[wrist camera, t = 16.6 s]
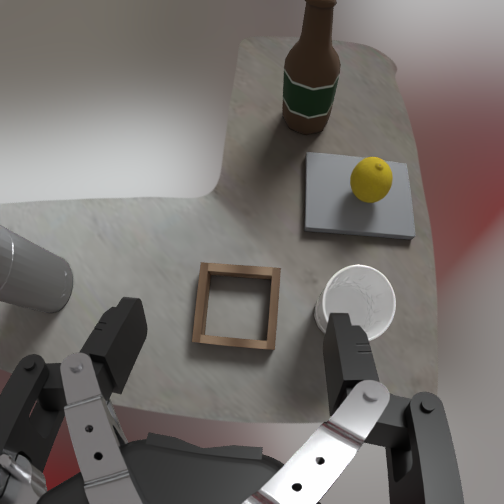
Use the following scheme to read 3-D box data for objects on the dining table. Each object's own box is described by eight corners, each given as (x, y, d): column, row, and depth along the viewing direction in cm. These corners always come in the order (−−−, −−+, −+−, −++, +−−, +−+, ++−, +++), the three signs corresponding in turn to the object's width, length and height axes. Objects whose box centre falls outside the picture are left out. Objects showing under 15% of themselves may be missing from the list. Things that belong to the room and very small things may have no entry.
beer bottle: (305, 144, 47) (325, 15, 24) (272, 116, 49) (271, -10, 26) (338, 121, 48) (368, 1, 25) (305, 95, 50) (317, -23, 27)
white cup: (347, 272, 41) (369, 250, 32) (378, 321, 39) (408, 313, 30) (298, 303, 41) (307, 290, 31) (329, 354, 38) (348, 357, 29)
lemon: (336, 189, 43) (349, 158, 36) (363, 170, 44) (378, 139, 36) (362, 219, 42) (380, 193, 34) (388, 198, 42) (409, 171, 35)
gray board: (304, 231, 43) (305, 227, 42) (305, 157, 47) (306, 151, 45) (411, 239, 42) (415, 236, 41) (403, 168, 45) (406, 163, 44)
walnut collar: (196, 341, 40) (192, 341, 37) (204, 267, 42) (201, 262, 40) (274, 349, 39) (274, 349, 37) (279, 272, 42) (280, 268, 39)
